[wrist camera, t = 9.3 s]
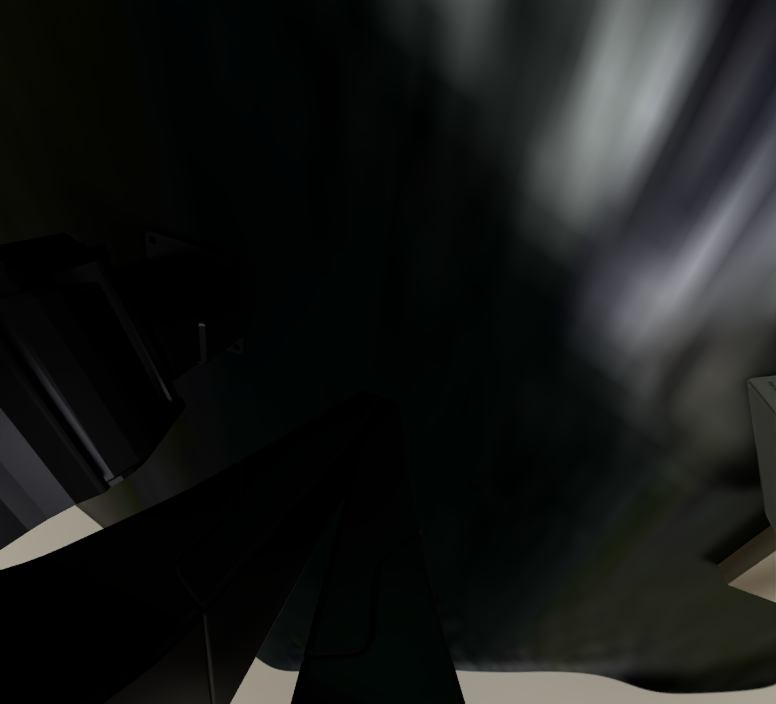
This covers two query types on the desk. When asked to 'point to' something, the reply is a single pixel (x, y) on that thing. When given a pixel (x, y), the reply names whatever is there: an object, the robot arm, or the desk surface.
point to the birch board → (753, 566)
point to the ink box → (765, 438)
